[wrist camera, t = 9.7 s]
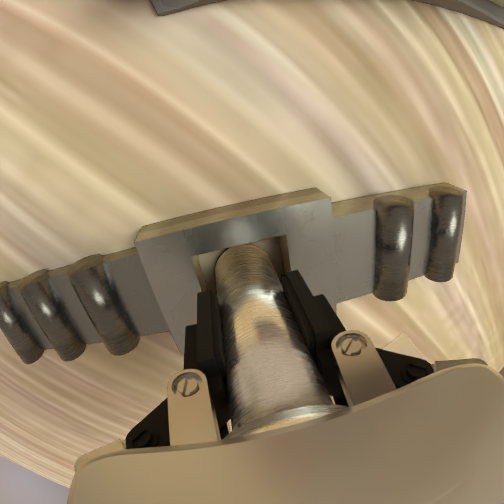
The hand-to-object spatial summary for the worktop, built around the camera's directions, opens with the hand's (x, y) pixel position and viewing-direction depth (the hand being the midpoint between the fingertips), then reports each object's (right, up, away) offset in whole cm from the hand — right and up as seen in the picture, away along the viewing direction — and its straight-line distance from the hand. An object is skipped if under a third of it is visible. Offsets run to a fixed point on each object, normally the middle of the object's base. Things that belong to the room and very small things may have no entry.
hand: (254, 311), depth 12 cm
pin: (-1, +2, +3) cm, 4 cm away
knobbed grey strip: (-3, +1, +3) cm, 5 cm away
